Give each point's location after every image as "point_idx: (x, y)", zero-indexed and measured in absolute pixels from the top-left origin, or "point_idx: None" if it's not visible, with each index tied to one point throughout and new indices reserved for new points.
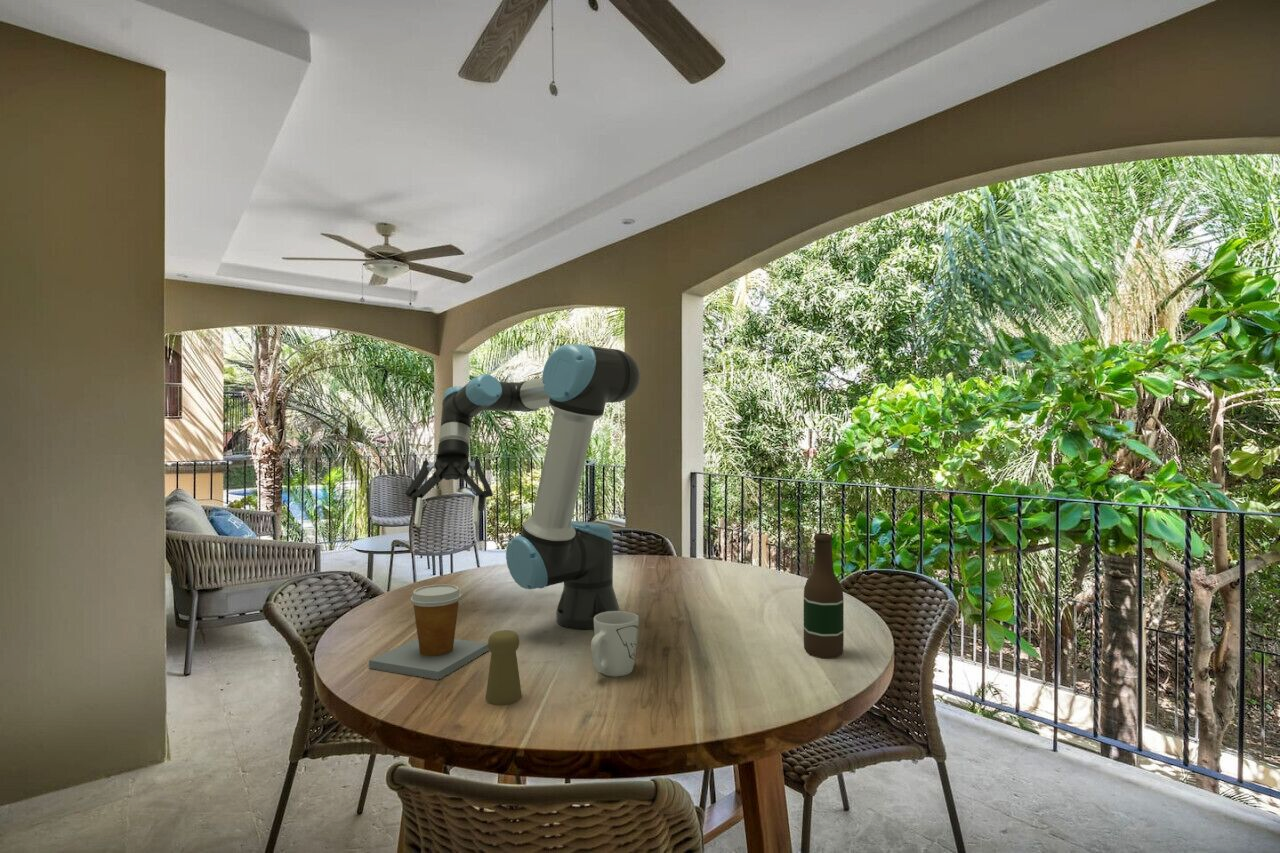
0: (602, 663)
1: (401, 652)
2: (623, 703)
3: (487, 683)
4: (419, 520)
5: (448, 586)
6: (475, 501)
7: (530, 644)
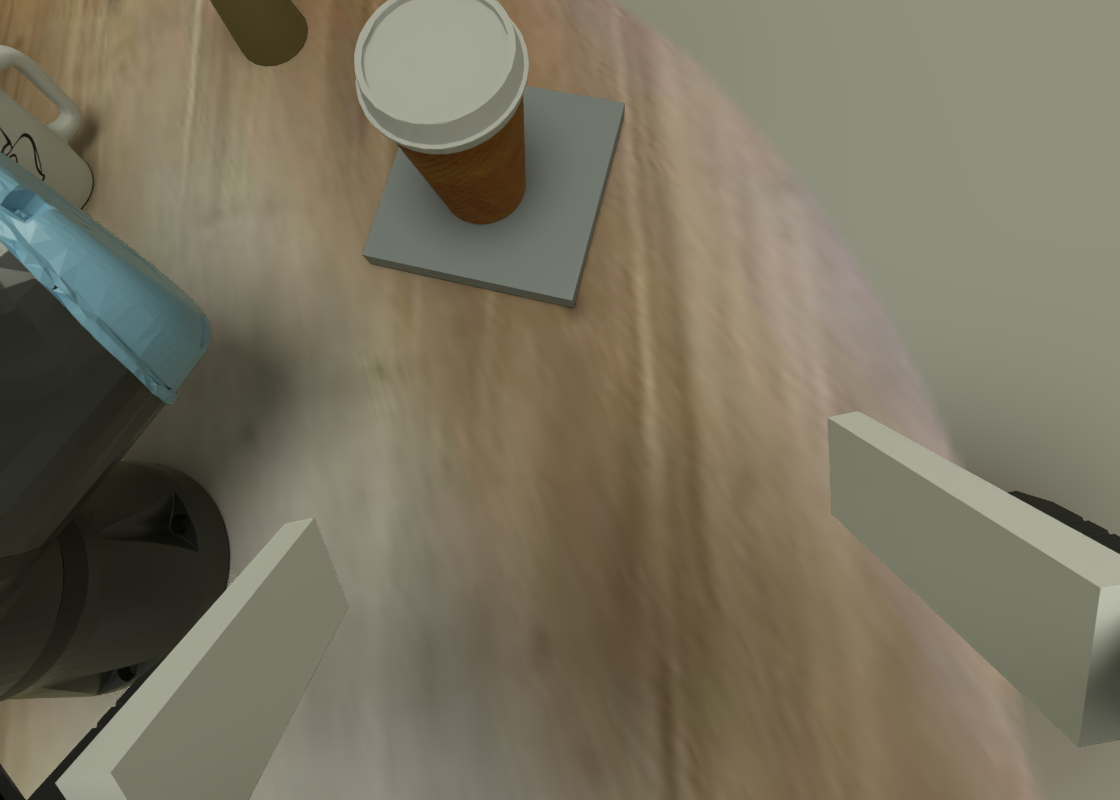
0: (56, 123)
1: (570, 161)
2: (53, 48)
3: (287, 1)
4: (859, 492)
5: (415, 120)
6: (175, 681)
7: (274, 324)
